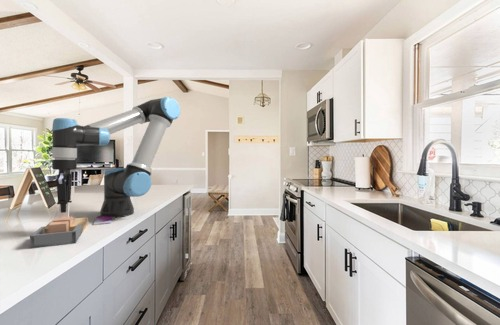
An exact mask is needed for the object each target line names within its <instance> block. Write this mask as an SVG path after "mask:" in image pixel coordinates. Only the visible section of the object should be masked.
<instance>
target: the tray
mask: <svg viewBox="0 0 500 325" xmlns="http://www.w3.org/2000/svg"><path fill="white" fill-rule="evenodd" d="M82 234H83V233H82V223H80V224H78V225H77V226H76V227H75V229H74V230H73V231H68V232H58V233H47V234H45V226H41V227H39V228H38V229H37V230H36V231H35V232H33V233H31V235H29V249H36V248H37V249H39V248H47V247H55V246H64V245H72V244H73V245H74V244H77V242H78V240H79V239H80V237H81V236H82Z"/></svg>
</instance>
